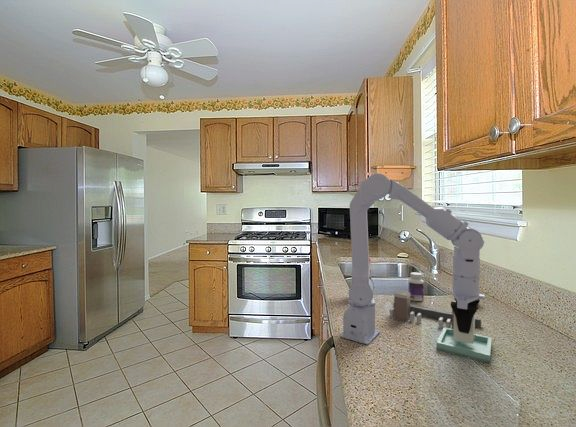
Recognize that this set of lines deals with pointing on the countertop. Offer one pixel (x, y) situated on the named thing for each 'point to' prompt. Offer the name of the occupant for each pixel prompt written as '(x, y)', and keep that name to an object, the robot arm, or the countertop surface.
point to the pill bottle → (416, 287)
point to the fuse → (402, 306)
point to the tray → (465, 346)
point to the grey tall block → (464, 336)
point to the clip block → (432, 315)
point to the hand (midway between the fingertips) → (464, 328)
